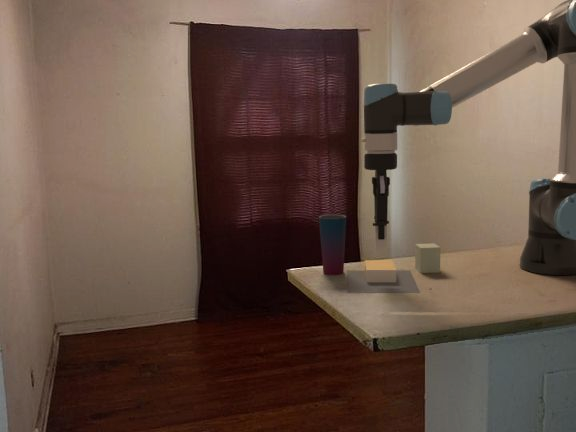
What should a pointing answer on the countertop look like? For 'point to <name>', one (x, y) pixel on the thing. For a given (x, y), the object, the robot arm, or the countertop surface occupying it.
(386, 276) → the ochre slab
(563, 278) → the countertop surface
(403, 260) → the countertop surface
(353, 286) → the mat
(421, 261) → the sage block
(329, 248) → the cup
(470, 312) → the countertop surface
